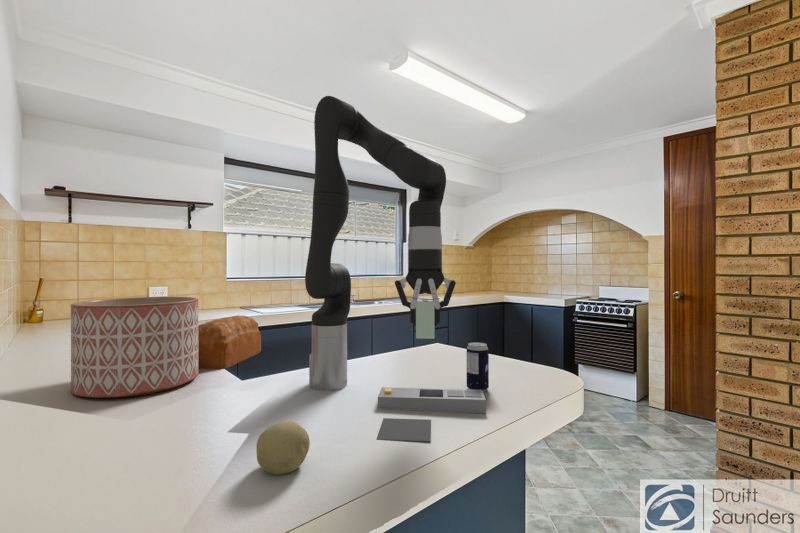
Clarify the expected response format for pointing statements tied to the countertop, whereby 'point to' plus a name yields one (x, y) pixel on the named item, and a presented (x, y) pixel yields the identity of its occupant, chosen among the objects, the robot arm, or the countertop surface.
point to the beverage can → (477, 366)
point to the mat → (405, 430)
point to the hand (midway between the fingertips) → (425, 325)
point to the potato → (282, 447)
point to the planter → (133, 345)
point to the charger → (425, 319)
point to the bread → (227, 342)
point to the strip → (432, 399)
